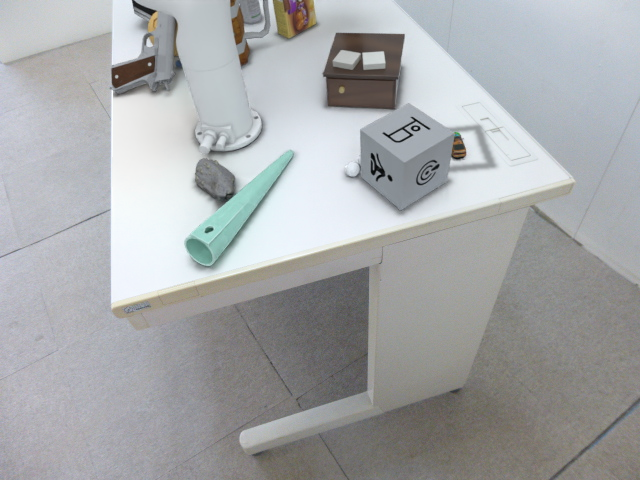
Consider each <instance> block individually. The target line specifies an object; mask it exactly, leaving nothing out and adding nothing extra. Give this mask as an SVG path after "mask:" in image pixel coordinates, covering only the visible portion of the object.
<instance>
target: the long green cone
mask: <svg viewBox="0 0 640 480" xmlns="http://www.w3.org/2000/svg"><path fill="white" fill-rule="evenodd" d="M294 153H295V152H294V150H293V149H288V150H286V151H285V152H284V153H283V154H281V155H280V156H279V157H278V158H277V159H275V160H274V161H273V162H272V163H270V164H269V165H268V166H267V167H266V168H264V170H262V171H261V172H259V174H258V175H256V176H255V177H253V179H252V180H251V181H249V182H248V183H247V184H246V185H244V186H243V187H242V189H240V190H239V191H237V192H236V194H235V193H234V196H233V197H232V198H231V199H229V200H226V202H225V203H224V204H223V205H221V206H220V207H219V208H218V209H217V210H215V211H214V212H213V213H212V214H211V215H210V216H208V217H207V218H206V219H205V220H204V221H203V222H201V223H200V224H199V225H198V226H197V227H196V228H194V230H193V231H191V232H190V233H189V234H188V236H186V237H185V238H184V241H183V244H184V248H185V251H186V252H187V254H188V255H189V256H190V257H191V259H192V260H194V261H195V262H196V263H197V264H200V265H201V266H206V267H210V266H212V265H214V264H215V262H216V261H217V260H218V259H219V258H220V256H221V255H222V254H223V252H224V251H225V250H226V249H227V247H228V246H229V245H230V243H231V242H232V241H233V239H234V238H235V237H236V236H237V234H238V232H239V231H240V230H241V229H242V227H243V226H244V224H245V223H246V221H247V220H248V219H249V217H250V216H251V214H252V213H253V212H254V211H255V209H256V208H257V207H258V205H259V204H260V202H261V201H262V200H263V198H264V197H265V196H266V195H267V193H268V191H269V190H270V189H271V188H272V186H273V184H275V182H276V180H277V179H278V177H279V176H280V175H281V174H282V173H283V171H284V169H286V167H287V165H288V164H289V162H290V161H291V160H292V158H293V156H294Z"/></svg>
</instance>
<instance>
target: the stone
mask: <svg viewBox="0 0 640 480" xmlns="http://www.w3.org/2000/svg"><path fill="white" fill-rule="evenodd" d="M194 175H195V179H194V180H195V183H196V185H197V186H198V187H199V188H201V189H202V190H203V191H205V192H206V193H207V194H209V195H210V196H212V198H213V199H214V200H217V201H229V200H230V199H231V198H232V197H233V196H234V195H235V193H236V192H235V191H236V187H235V183H236V176H235V174H233V172H231V171H230V170H229V169H228V168H226V167H225V166H223V165H222V164H220V163H219V162H218V160H217V159H214V160H213V159H209V158H207V157H203V158H200V159H199V160H198V162H197V163H196V166H195V172H194Z"/></svg>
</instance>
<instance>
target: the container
mask: <svg viewBox="0 0 640 480" xmlns="http://www.w3.org/2000/svg"><path fill="white" fill-rule="evenodd" d="M239 5H240V8H241V12H242V15H243V20H244V25H256V24H259V23H260V22H261V21H262V19H263V17H262V10H261V5H260V0H244V1H242V2H240V3H239Z"/></svg>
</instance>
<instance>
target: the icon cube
mask: <svg viewBox="0 0 640 480" xmlns="http://www.w3.org/2000/svg"><path fill="white" fill-rule="evenodd" d="M454 132H455V131H453V130H452V129H450V128H448V127H446V126H445V125H444V124H442V123H440V122H439V121H438V120H436V119H434V118H433V117H431V116H430V115H428V114H427V113H425V112H424V111H422V110H420V109H419V108H417V107H416V106H414V105H413V104H411V102H409V103H408V102H407V103H406V104H405V105H403V106H401V107H399V108H397V109H394V110H393V111H391V112H389V113H388V114H385V115H384V116H382V117H380V118H378V119H377V120H375V121H373V122H371V123H369V124H367V125H366V126H364V127H362V128H360V129H359V144H360V146H359V148H360V150H359V151H360V154H359V155H361V166H360V179H363V181H365V182H366V183H367V184H369V185H370V186H371V187H372V188H373V189H375V190H376V191H377V192H378V193H379V194H380V195H382V196H383V197H384V198H385V199H387V200H388V201H389V202H390V203H391V204H393V206H395V207H396V208H397V209H399V210H400V211H402V210H405V209H406V208H408V207H409V206H410V205H412V204H414V203H415V202H417V201H418V200H420V199H422V198H423V197H425V196H426V195H428V194H429V193H431V192H433V191H434V190H436V189H438V188H439V187H441V186H442V185H444V184H445V183H447V182H448V178H449V171H450V165H451V159H452V156H451V154H452V148H453V142H454V135H455V133H454Z"/></svg>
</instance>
